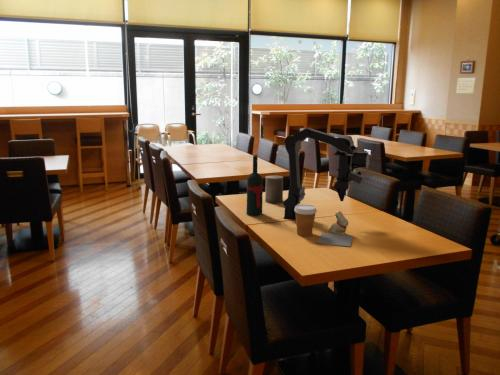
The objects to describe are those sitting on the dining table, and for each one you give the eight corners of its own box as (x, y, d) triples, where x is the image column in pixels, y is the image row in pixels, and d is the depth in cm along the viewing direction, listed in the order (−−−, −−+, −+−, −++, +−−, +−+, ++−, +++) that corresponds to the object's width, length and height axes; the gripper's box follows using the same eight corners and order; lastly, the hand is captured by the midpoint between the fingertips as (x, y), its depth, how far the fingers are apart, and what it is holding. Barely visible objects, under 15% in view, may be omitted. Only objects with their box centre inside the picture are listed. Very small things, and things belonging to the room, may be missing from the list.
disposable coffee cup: (301, 238, 183) (302, 210, 180) (289, 232, 191) (290, 205, 188) (320, 235, 187) (321, 208, 184) (307, 229, 195) (308, 203, 192)
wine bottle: (251, 218, 211) (252, 155, 204) (244, 212, 220) (244, 152, 214) (266, 216, 214) (267, 155, 207) (258, 211, 223) (259, 152, 216)
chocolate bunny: (338, 236, 186) (339, 213, 184) (327, 231, 193) (328, 209, 191) (348, 234, 189) (350, 212, 186) (337, 229, 195) (339, 207, 193)
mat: (317, 243, 177) (317, 242, 177) (321, 233, 189) (321, 232, 189) (350, 247, 174) (350, 246, 173) (352, 237, 186) (352, 236, 186)
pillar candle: (283, 203, 238) (284, 176, 235) (265, 203, 239) (265, 175, 236) (282, 199, 248) (282, 173, 245) (264, 199, 248) (265, 172, 245)
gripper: (361, 170, 184) (359, 206, 187) (364, 163, 201) (362, 196, 205) (334, 168, 187) (332, 204, 191) (339, 162, 205) (337, 194, 208)
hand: (342, 200), depth 198 cm, fingers open, 4 cm apart
